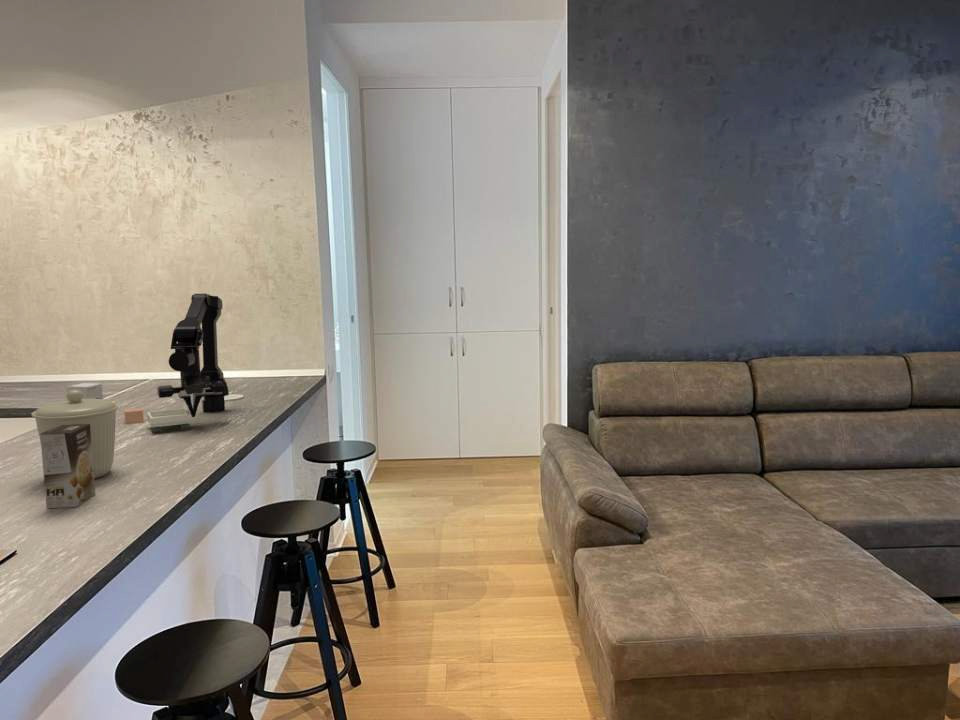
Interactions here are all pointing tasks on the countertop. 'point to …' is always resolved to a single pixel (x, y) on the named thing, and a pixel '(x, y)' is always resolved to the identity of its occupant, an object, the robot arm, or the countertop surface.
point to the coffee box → (67, 465)
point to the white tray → (169, 418)
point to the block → (133, 415)
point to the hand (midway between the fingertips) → (193, 416)
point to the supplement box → (88, 390)
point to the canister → (84, 412)
